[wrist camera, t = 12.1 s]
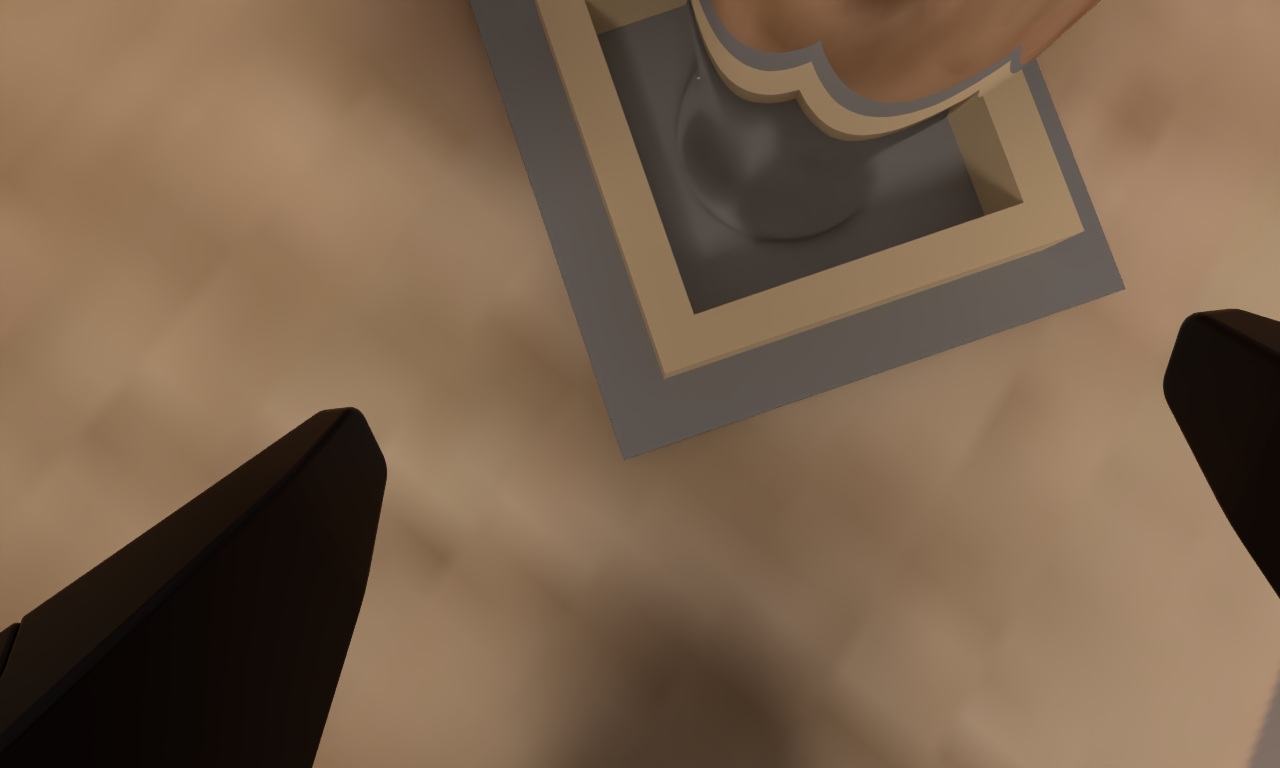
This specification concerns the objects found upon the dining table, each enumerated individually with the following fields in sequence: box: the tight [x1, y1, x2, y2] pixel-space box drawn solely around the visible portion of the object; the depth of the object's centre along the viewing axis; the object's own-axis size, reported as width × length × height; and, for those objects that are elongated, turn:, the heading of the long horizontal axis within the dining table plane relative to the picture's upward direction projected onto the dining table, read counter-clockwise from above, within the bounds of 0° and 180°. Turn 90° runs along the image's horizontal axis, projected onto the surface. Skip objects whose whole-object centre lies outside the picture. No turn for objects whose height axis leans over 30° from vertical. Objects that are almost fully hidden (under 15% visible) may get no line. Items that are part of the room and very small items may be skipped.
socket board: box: [469, 0, 1125, 460], centre depth 20 cm, size 15×15×3 cm
